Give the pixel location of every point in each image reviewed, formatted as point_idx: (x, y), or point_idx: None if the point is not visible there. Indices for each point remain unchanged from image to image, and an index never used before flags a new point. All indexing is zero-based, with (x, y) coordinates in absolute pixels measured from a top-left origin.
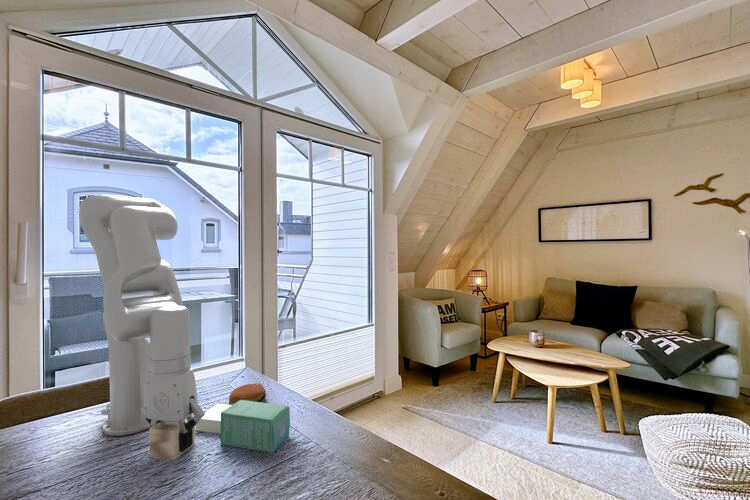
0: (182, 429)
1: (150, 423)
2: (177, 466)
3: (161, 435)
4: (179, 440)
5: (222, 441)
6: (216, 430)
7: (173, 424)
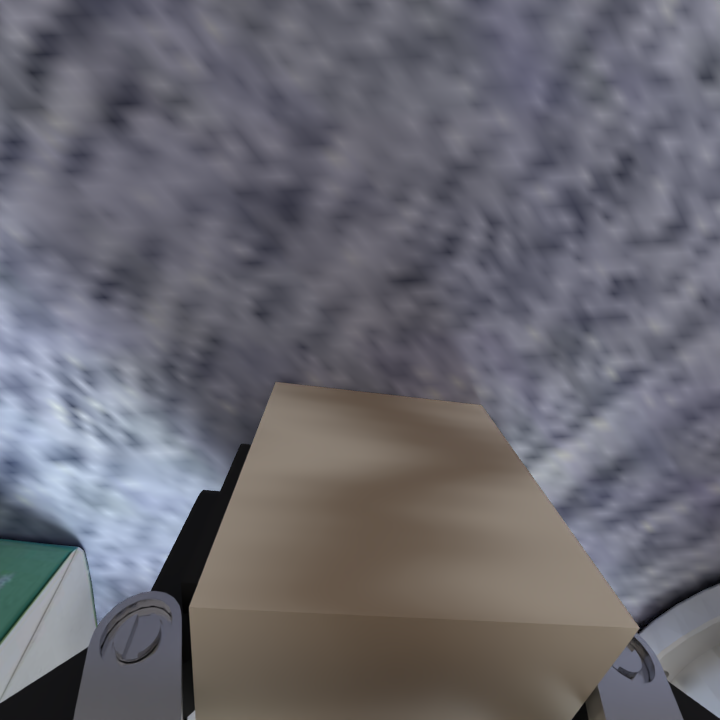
0: (164, 647)
1: (675, 703)
2: (182, 312)
3: (407, 539)
4: None
5: (41, 563)
6: None
7: (342, 714)
